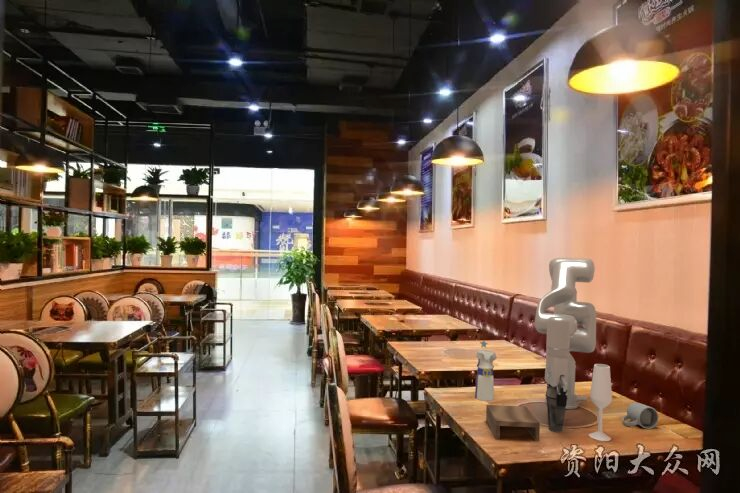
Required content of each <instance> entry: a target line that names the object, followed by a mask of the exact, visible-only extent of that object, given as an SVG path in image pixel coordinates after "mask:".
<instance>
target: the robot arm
mask: <svg viewBox="0 0 740 493" xmlns="http://www.w3.org/2000/svg"><path fill="white" fill-rule="evenodd" d="M595 269H596V268H595V263H594V261H593V260H592V259H591V258H578V257H577V258H576V257H574V258H572V257H557V258H556V257H555V258H553V259H551V260H550V261H549V263H548V271H549V276H550V279H551V286H550V288H551V290H550V291H549V292H547V293H546V294H545V295H544V296H543V297H541V299H540V300H539V301H538V303H537V307H536V311H535V318H534V319H535V320H534V326H535V329H536V331H537V332H538V333H540V334H545V335H546V346H545V347H546V351H545V356H546V358H545V359H546V360H545V370H544V380H545V382H546V390H547V389H548V387H550V386H552V387H555V386H556V388H557V392H558V394H557V397H556V405H557V406H561V407H565V410H575V409H577V408H579V402H583V403H584V402H587V401H588V397H587V396H582V395H580V394H576V393H575V392H576V388H575V387H576V360H575V358H574V357H573V355H572V354H571V353H570V352H578V353H585V354H586V353H588V354H590V353H593V352H594V351H595V349H596V343H597V341H596V340H597V310H596V307H595V306H594V304H593V303H591V302H586V301H585V302H584V301H577V296H578V292H577V289H576V283H591V282H592V281H593V280H594V276H595ZM552 307H553V313H552V312H551V313H550V312H546V311H547V310H548V309H550V308H552ZM578 326H582V327H578ZM560 388H561V390H560ZM567 397H568V399H567ZM544 402H545V404H546V405H547V401H546V398H545V399H544Z"/></svg>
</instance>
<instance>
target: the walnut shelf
mask: <svg viewBox="0 0 740 493" xmlns="http://www.w3.org/2000/svg"><path fill="white" fill-rule="evenodd" d="M485 407H486V410H485V411H486V415H485V422H486V424H487V425H488V427H489V430H490V431H491V433H492V435H493V437H494V438H495V440H500V439H501V435H500V434H501V427H523V428H525V429H526V431H527V432H528V433H529V435H530V436H531V437H532V438H533V440H534V441H535V442H540V429H541V428H540V427H541V425H540V422H539V420H538V419H537V418H536V416H535V415H534V414H533V413H532V412H531V410H530V409H528V407H527V406H525V405H524V406H523V405H521V406H520V405H501V404H500V405H499V404H486V406H485Z"/></svg>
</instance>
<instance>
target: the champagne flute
mask: <svg viewBox="0 0 740 493" xmlns="http://www.w3.org/2000/svg"><path fill="white" fill-rule="evenodd" d="M611 377H612V376H611V366H609V365H608V364H603V363H595V364H594V365H593V371H592V379H591V386H590V394H589V398H590V400H591V402H592V403H593V404H594V406H595V407H597V408H598V416H597V417H598V420H597V421H598V422H597V423H598V425H597V426H598V427H597V431H593V432H591V433H589V434H588V436H589V437H590V438H591V439H594V440H596V441H600V442H608V441H611V440H612V438H611V437H610V436H609V435H608V434H606V433H604V431H603V413H604V412H603V410H604V409H605V408H607V407H608V406H610V404H611V403H612V401H613V395H612V380H611Z"/></svg>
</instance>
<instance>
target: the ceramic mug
mask: <svg viewBox="0 0 740 493" xmlns="http://www.w3.org/2000/svg"><path fill="white" fill-rule="evenodd" d="M627 420H629V421H627ZM621 421H622V423H623V425H624V426H626V427H635V426H637V425H638V426H640V427H641V428H643V429H647V430H651V429H654V428H655V427H656V426H657V424H658V423H659V414H658V411H657V410H656V409H655V408H654V407H652V406H649V405H646V404H643V403H640V402H632V403H630V404H629V405H628V406H627V409H626V415H625V416H623V417H622V419H621Z"/></svg>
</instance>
